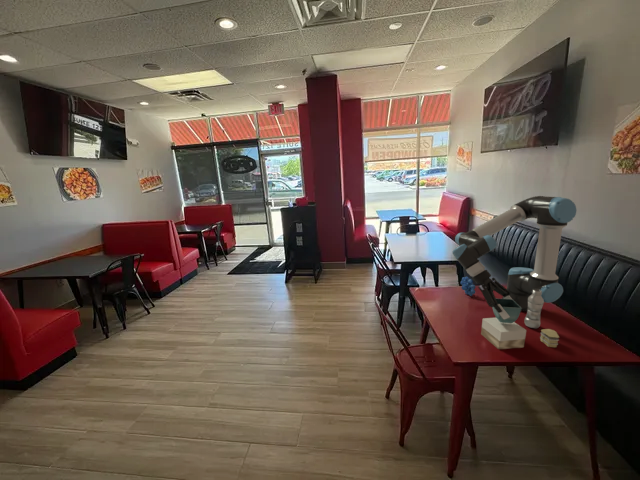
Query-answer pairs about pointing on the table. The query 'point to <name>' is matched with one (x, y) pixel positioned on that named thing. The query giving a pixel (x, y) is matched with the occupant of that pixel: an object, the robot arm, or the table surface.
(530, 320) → the plastic bottle
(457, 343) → the table surface
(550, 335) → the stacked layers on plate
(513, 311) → the flower pot
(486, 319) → the top slab
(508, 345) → the bottom slab
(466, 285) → the grapes
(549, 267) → the robot arm
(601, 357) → the table surface
